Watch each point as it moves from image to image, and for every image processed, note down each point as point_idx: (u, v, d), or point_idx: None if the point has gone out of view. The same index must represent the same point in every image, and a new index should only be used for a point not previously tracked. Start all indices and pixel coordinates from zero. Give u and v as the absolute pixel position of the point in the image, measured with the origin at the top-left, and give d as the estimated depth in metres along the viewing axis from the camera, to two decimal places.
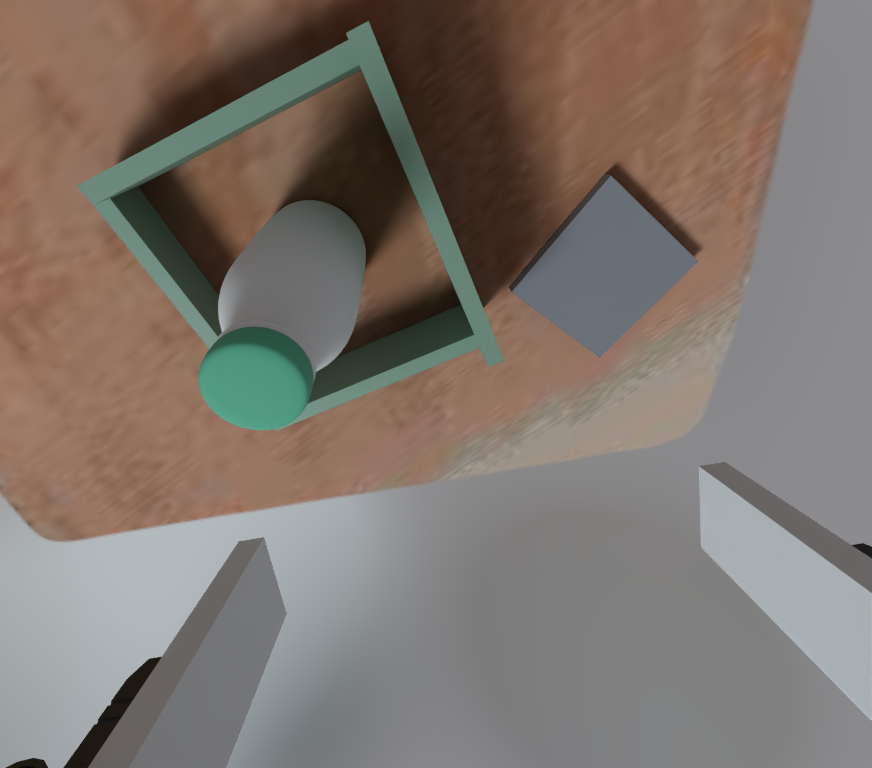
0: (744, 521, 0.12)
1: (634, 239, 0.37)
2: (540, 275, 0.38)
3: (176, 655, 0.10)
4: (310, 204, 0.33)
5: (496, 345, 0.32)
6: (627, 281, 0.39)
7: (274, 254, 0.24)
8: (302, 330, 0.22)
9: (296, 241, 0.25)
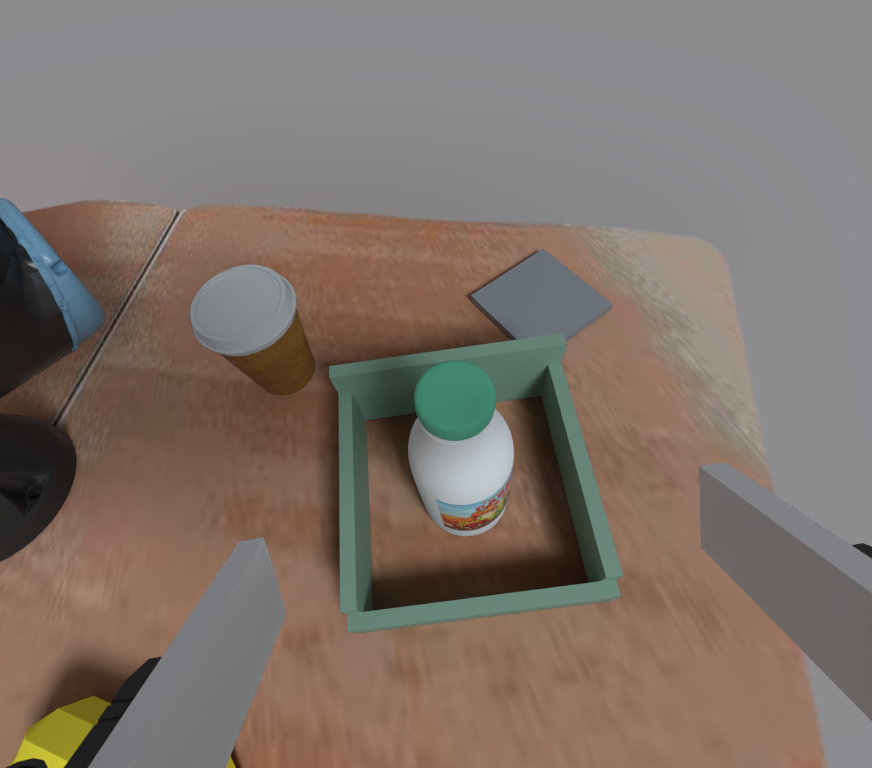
0: (744, 521, 0.12)
1: (516, 283, 0.53)
2: None
3: (176, 655, 0.10)
4: None
5: (547, 336, 0.40)
6: (547, 286, 0.53)
7: None
8: None
9: None
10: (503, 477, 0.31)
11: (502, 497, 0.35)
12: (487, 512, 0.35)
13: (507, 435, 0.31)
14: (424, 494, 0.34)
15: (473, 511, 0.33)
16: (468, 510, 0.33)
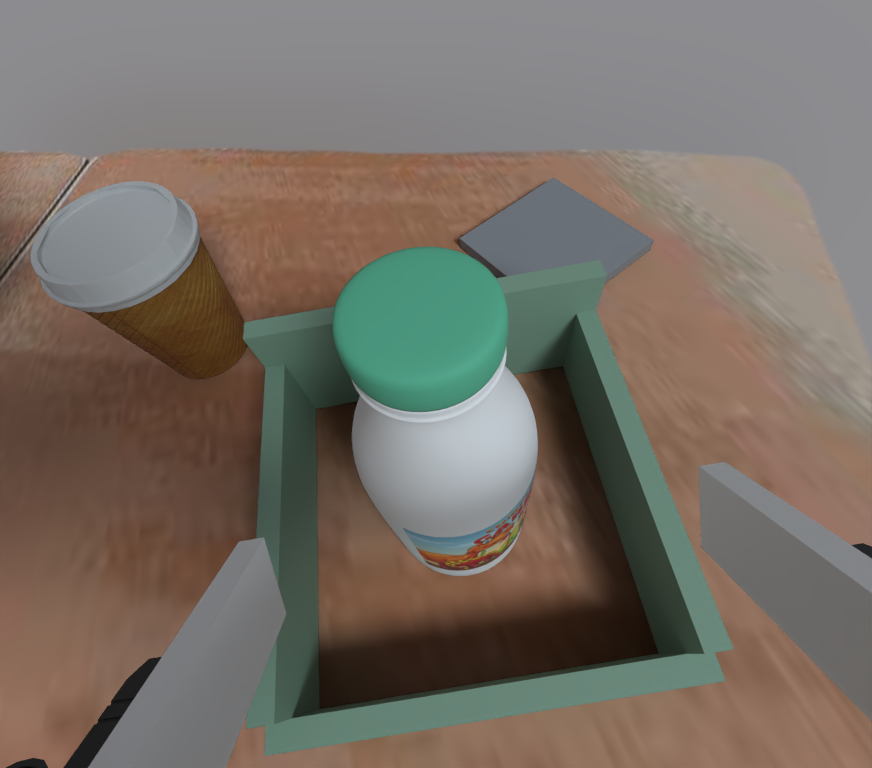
0: (744, 521, 0.12)
1: (521, 220, 0.40)
2: None
3: (176, 655, 0.10)
4: None
5: (576, 265, 0.26)
6: (563, 222, 0.39)
7: None
8: None
9: None
10: (522, 485, 0.17)
11: (518, 518, 0.21)
12: (494, 544, 0.21)
13: (527, 408, 0.17)
14: (385, 519, 0.19)
15: (470, 545, 0.19)
16: (462, 544, 0.19)
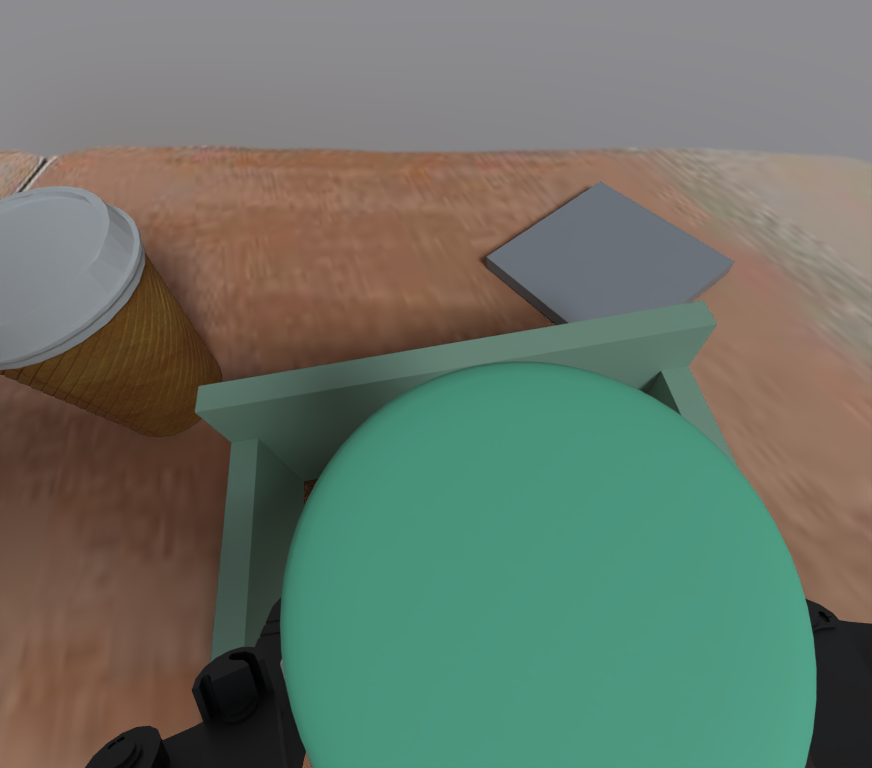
0: None
1: (563, 234, 0.32)
2: None
3: None
4: None
5: (670, 308, 0.18)
6: (616, 237, 0.31)
7: None
8: None
9: None
10: None
11: None
12: None
13: None
14: None
15: None
16: None
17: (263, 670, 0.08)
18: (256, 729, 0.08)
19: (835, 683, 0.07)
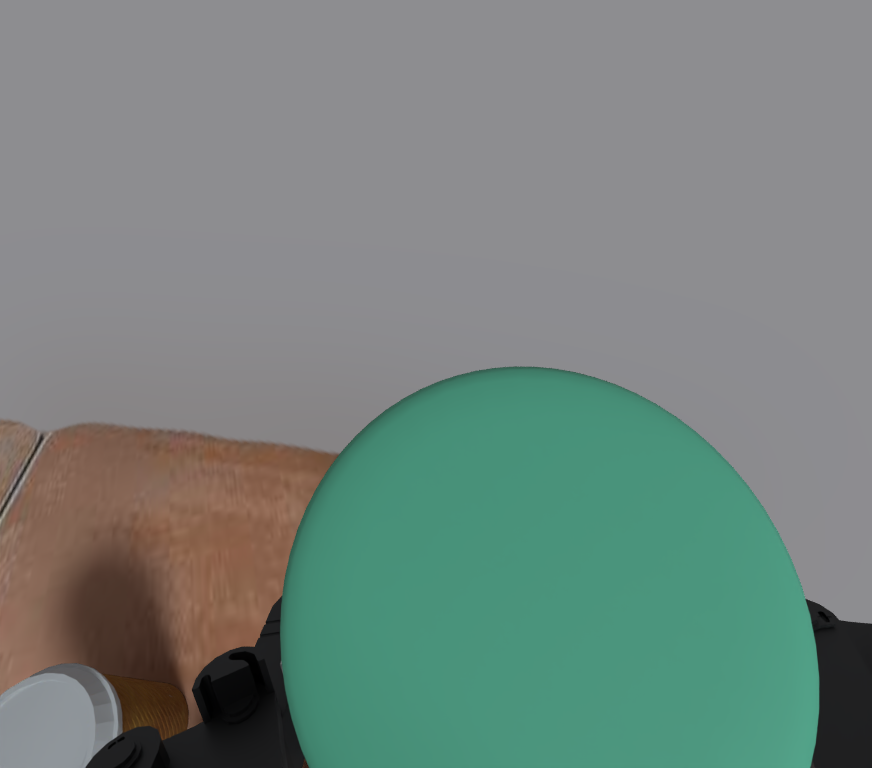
0: None
1: None
2: None
3: None
4: None
5: None
6: None
7: None
8: None
9: None
10: None
11: None
12: None
13: None
14: None
15: None
16: None
17: (263, 670, 0.08)
18: (256, 729, 0.08)
19: (835, 683, 0.07)
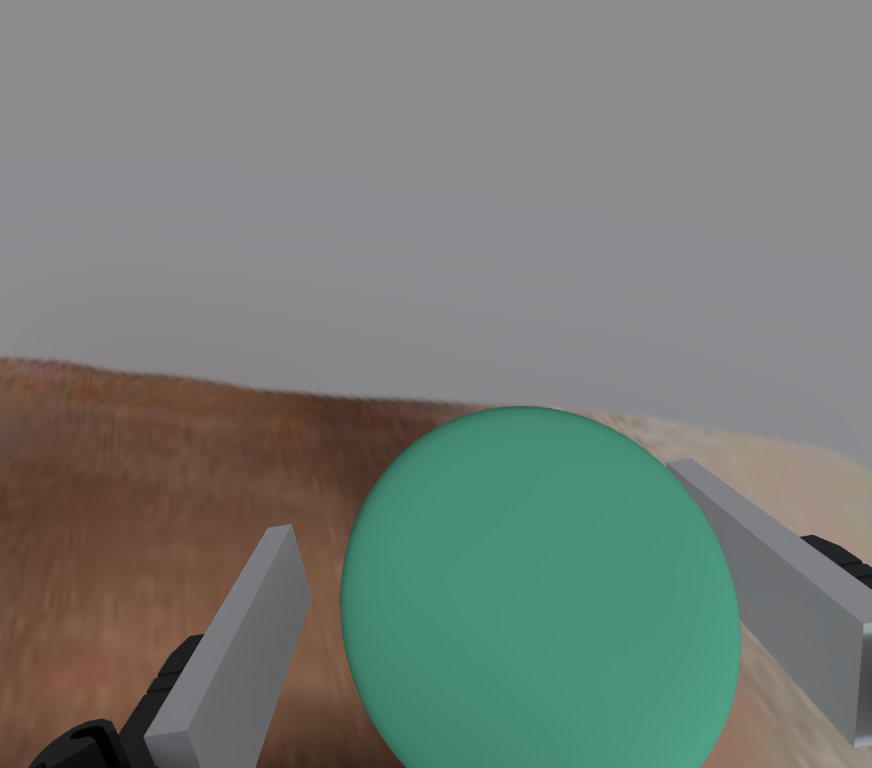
0: (704, 515, 0.12)
1: None
2: None
3: (219, 630, 0.10)
4: None
5: None
6: None
7: None
8: None
9: None
10: None
11: None
12: None
13: None
14: None
15: None
16: None
17: (115, 743, 0.07)
18: None
19: None
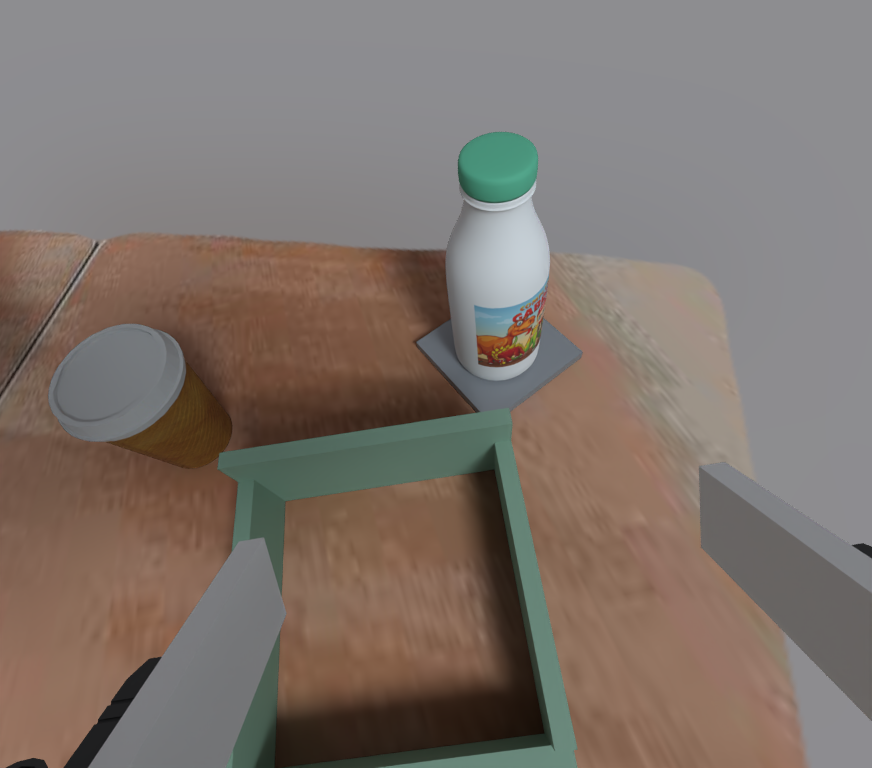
0: (744, 521, 0.12)
1: None
2: (480, 396, 0.41)
3: (176, 655, 0.10)
4: None
5: (489, 412, 0.32)
6: None
7: None
8: None
9: None
10: (541, 277, 0.32)
11: (537, 316, 0.36)
12: (523, 332, 0.36)
13: (544, 233, 0.32)
14: (462, 308, 0.34)
15: (510, 323, 0.34)
16: (505, 320, 0.34)
17: None
18: None
19: None
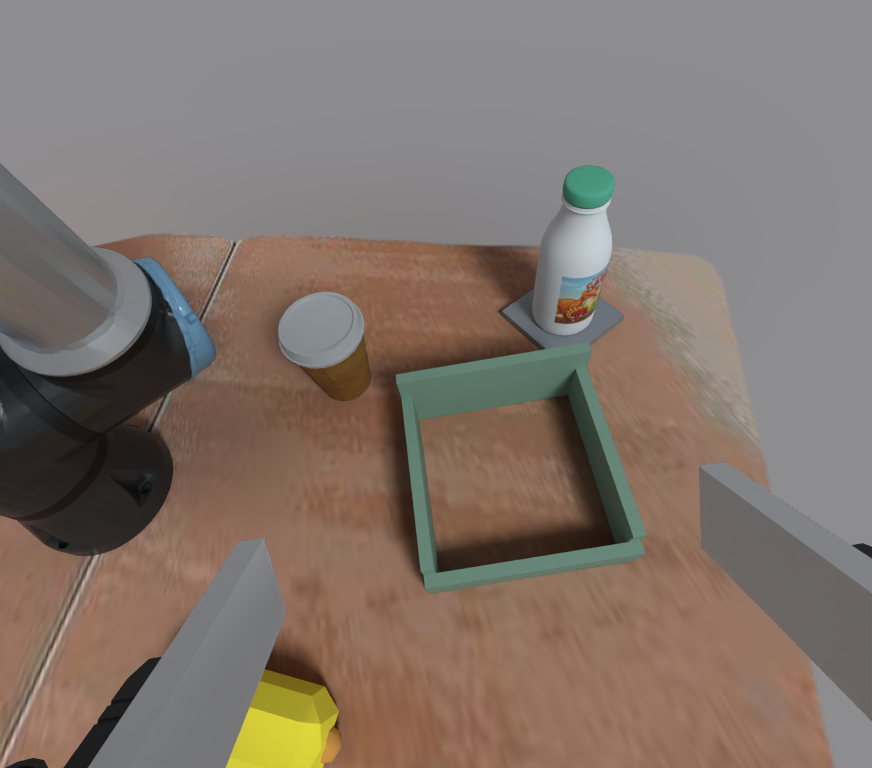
0: (744, 521, 0.12)
1: None
2: (553, 346, 0.58)
3: (176, 655, 0.10)
4: None
5: (575, 345, 0.49)
6: None
7: None
8: None
9: None
10: (607, 257, 0.49)
11: (600, 286, 0.52)
12: (590, 297, 0.53)
13: None
14: (551, 279, 0.51)
15: (584, 289, 0.51)
16: (582, 287, 0.51)
17: None
18: None
19: None
